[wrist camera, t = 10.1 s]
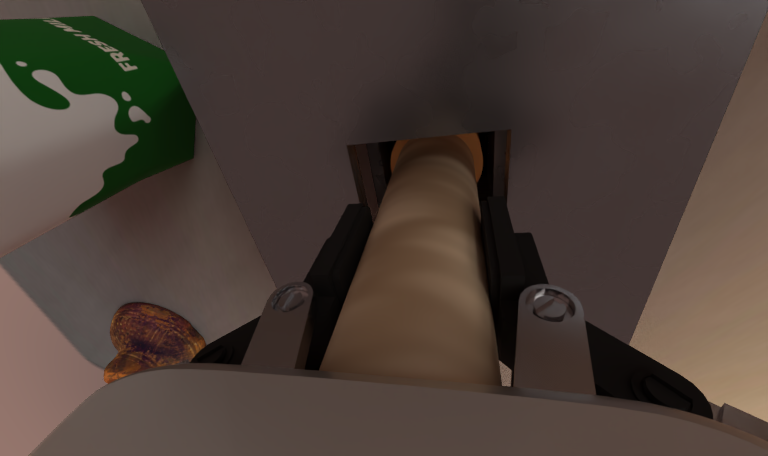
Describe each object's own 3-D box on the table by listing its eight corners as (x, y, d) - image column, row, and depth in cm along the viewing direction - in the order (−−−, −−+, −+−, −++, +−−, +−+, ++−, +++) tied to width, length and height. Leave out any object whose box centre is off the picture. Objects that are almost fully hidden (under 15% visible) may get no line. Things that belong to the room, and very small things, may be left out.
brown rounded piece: (219, 334, 40) (178, 391, 34) (194, 368, 46) (156, 421, 40) (129, 284, 37) (67, 337, 31) (115, 327, 43) (63, 377, 38)
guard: (640, -93, 13) (859, -210, 6) (571, 245, 23) (624, 354, 16) (265, -6, 18) (134, -14, 10) (340, 248, 27) (299, 335, 20)
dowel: (473, 125, 15) (582, 794, 2) (474, 198, 17) (530, 753, 4) (392, 134, 16) (145, 640, 3) (402, 202, 18) (278, 669, 5)
